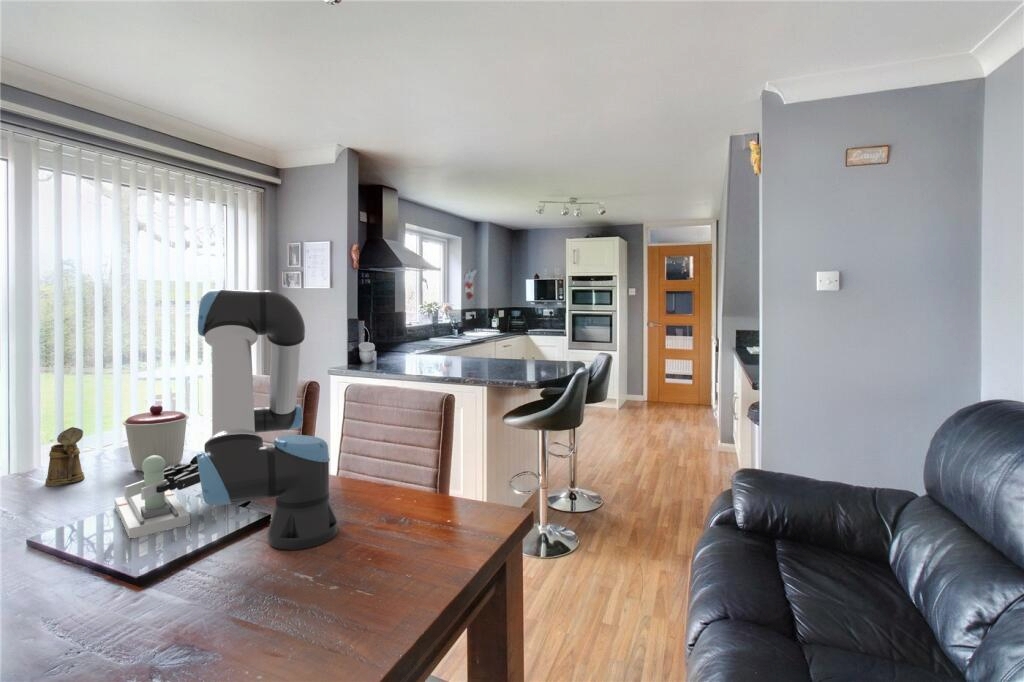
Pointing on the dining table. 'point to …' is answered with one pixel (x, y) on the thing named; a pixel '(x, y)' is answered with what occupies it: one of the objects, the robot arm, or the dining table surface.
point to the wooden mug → (65, 459)
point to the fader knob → (153, 474)
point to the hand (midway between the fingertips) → (134, 493)
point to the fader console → (139, 526)
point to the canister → (156, 436)
